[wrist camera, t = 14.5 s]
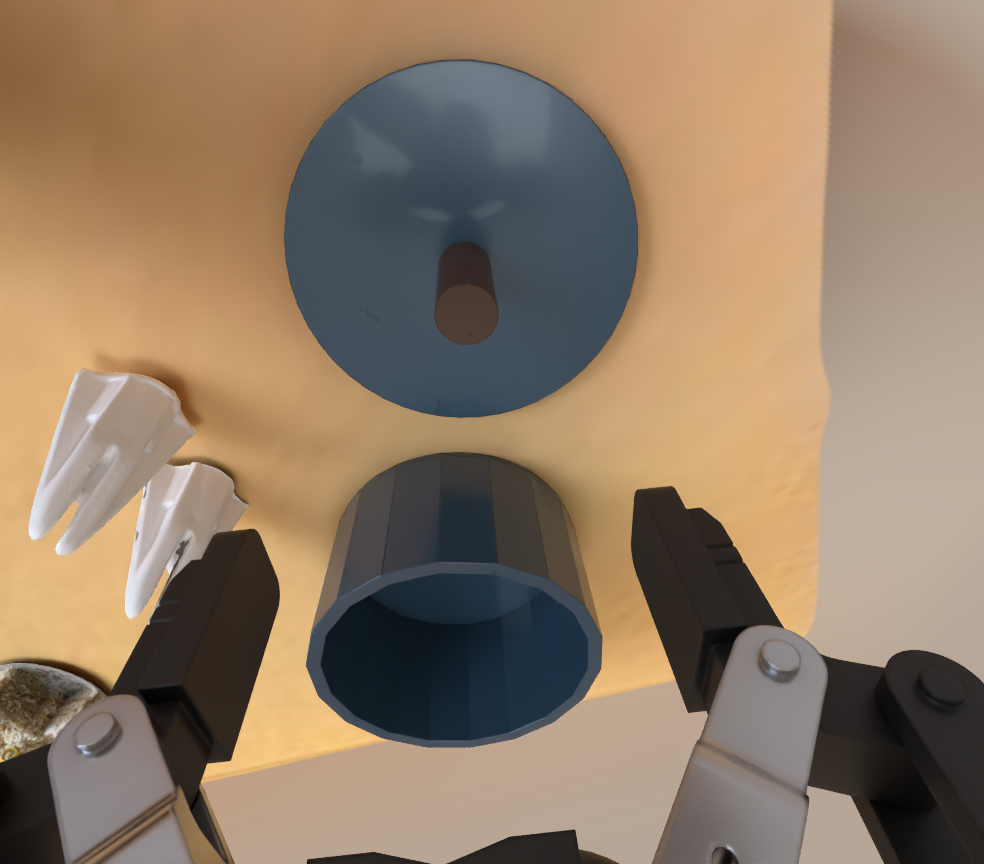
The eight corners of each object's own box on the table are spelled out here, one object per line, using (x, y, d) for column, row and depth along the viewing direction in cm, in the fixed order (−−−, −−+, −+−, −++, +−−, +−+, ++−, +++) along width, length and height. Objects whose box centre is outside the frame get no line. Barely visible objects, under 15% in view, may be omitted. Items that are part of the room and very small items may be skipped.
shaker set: (89, 355, 31) (-69, 478, 22) (163, 341, 31) (35, 459, 21) (191, 519, 37) (103, 668, 28) (252, 508, 37) (184, 655, 28)
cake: (119, 732, 50) (84, 799, 46) (-9, 712, 48) (-57, 781, 44) (118, 673, 45) (79, 744, 41) (-26, 648, 43) (-83, 720, 38)
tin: (364, 636, 45) (344, 760, 37) (311, 463, 36) (269, 578, 28) (572, 615, 45) (598, 735, 37) (572, 439, 36) (606, 546, 28)
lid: (333, 420, 34) (305, 503, 28) (243, 78, 25) (167, 82, 18) (623, 393, 34) (663, 469, 28) (643, 42, 25) (710, 32, 18)
